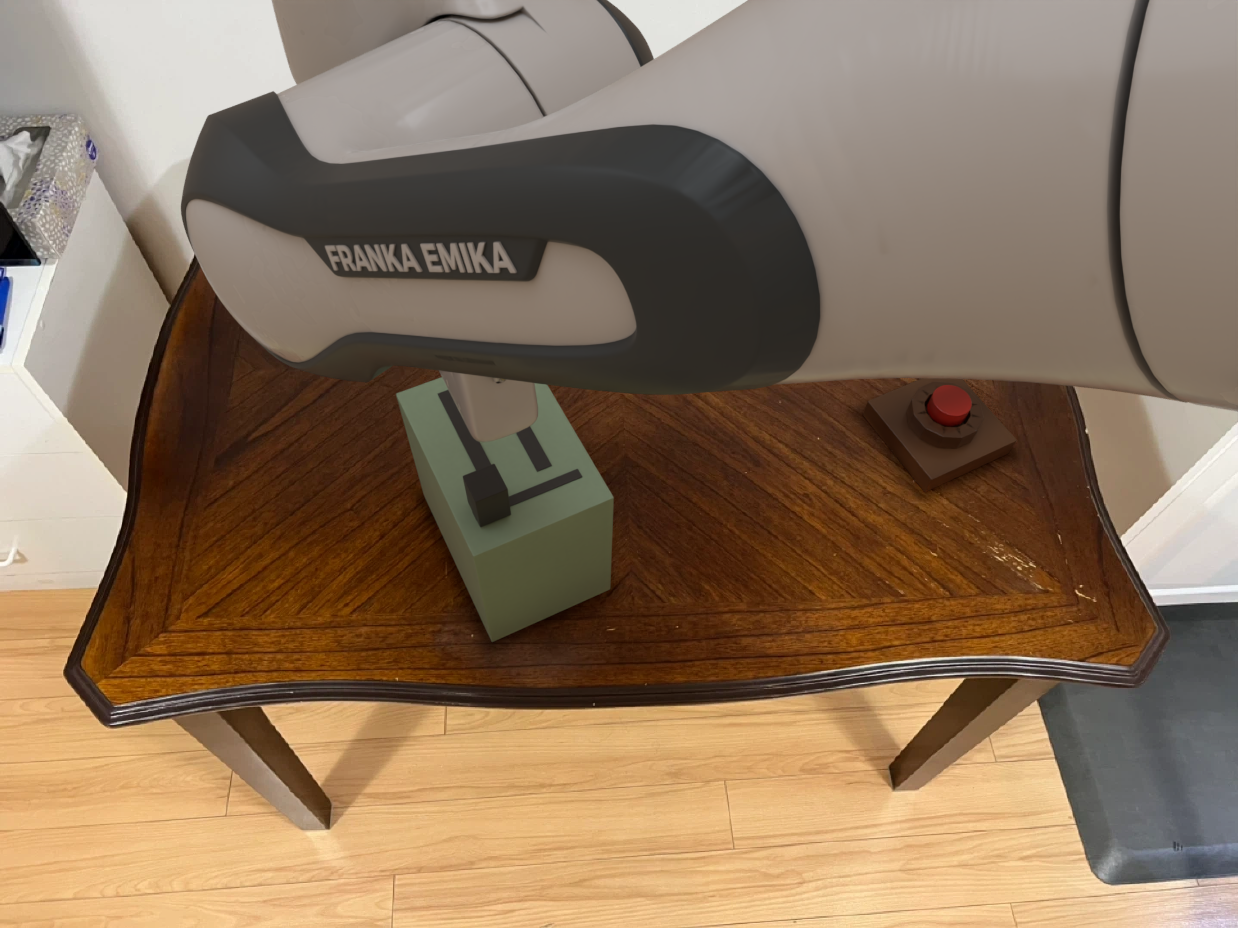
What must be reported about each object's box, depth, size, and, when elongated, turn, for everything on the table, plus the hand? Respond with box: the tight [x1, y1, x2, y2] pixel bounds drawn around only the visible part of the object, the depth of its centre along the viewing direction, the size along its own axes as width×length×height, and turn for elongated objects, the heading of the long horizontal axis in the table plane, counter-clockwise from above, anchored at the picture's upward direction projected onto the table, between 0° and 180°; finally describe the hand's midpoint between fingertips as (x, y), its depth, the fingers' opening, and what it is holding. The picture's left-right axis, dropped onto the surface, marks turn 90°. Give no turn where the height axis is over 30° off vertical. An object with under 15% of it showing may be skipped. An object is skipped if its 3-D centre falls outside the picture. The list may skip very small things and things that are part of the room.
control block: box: [862, 378, 1018, 493], centre depth 90 cm, size 10×10×4 cm
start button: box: [927, 385, 972, 427], centre depth 88 cm, size 4×4×2 cm
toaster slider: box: [463, 464, 511, 527], centre depth 67 cm, size 2×2×4 cm
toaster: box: [395, 376, 615, 643], centre depth 78 cm, size 16×11×15 cm
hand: (453, 367), depth 59 cm, fingers open, 8 cm apart
